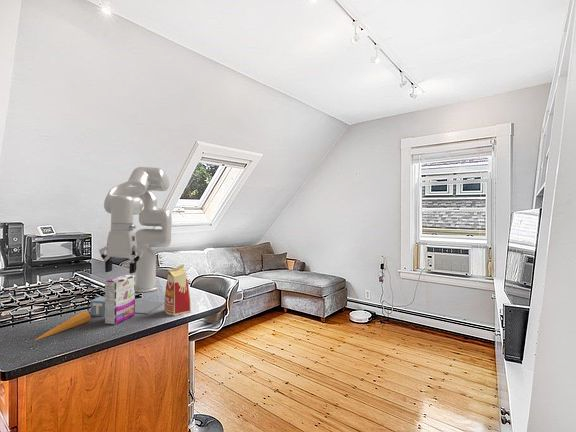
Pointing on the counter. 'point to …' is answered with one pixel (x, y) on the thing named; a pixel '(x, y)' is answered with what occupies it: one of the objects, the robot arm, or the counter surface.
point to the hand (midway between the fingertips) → (120, 272)
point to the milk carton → (177, 292)
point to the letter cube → (98, 306)
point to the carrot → (68, 324)
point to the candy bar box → (119, 299)
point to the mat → (147, 307)
